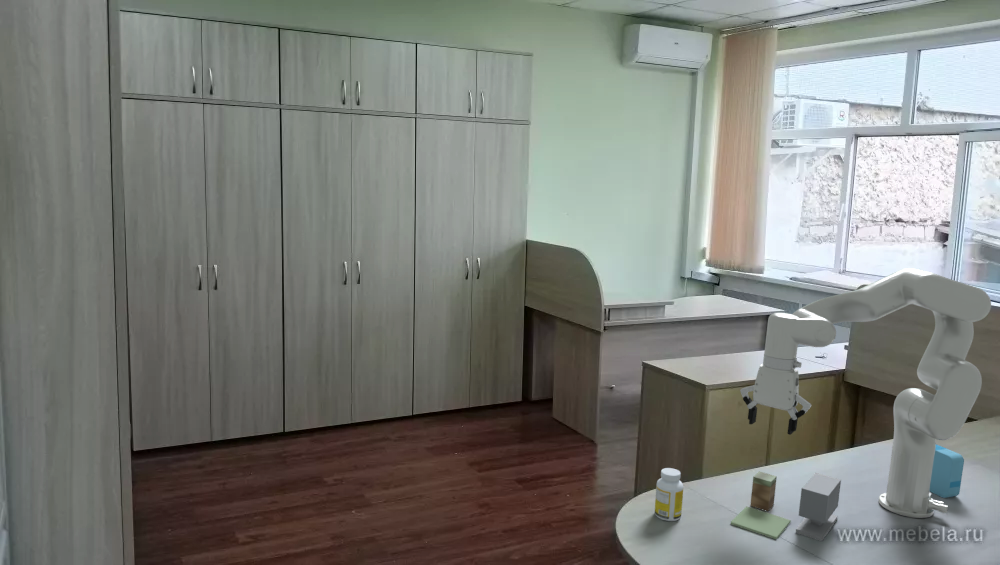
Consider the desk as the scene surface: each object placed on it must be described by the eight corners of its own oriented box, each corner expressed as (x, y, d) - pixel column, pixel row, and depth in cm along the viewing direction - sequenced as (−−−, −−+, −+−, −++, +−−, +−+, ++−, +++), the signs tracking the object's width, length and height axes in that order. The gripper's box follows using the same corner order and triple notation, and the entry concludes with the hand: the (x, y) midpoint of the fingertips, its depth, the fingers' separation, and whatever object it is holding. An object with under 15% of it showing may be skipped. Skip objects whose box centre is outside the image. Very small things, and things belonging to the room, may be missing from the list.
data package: (959, 498, 198) (965, 456, 197) (947, 500, 197) (953, 457, 195) (920, 479, 210) (926, 439, 208) (908, 481, 208) (914, 441, 206)
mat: (790, 522, 181) (790, 520, 181) (776, 539, 172) (776, 537, 172) (746, 508, 187) (746, 506, 187) (730, 524, 179) (730, 521, 179)
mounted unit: (837, 519, 183) (842, 478, 181) (821, 541, 172) (827, 497, 170) (811, 512, 187) (816, 471, 185) (795, 532, 176) (800, 489, 174)
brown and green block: (773, 505, 190) (776, 476, 189) (767, 511, 186) (771, 481, 185) (756, 500, 193) (759, 471, 191) (750, 505, 189) (753, 476, 188)
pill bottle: (682, 512, 184) (685, 468, 182) (679, 524, 178) (683, 479, 176) (655, 507, 186) (659, 464, 184) (652, 519, 180) (655, 474, 178)
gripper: (819, 367, 181) (810, 433, 184) (749, 353, 191) (742, 416, 194) (811, 373, 175) (802, 441, 178) (739, 358, 186) (732, 422, 188)
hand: (771, 428), depth 186 cm, fingers open, 9 cm apart
